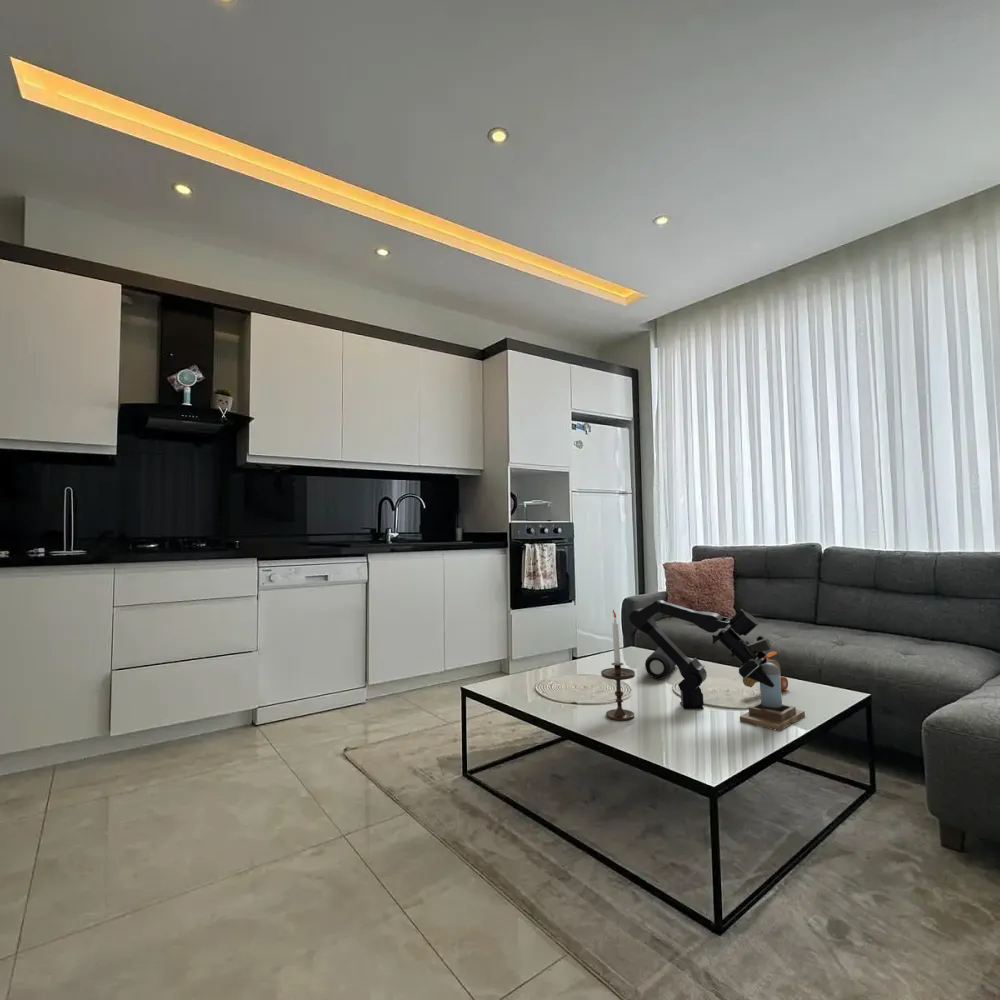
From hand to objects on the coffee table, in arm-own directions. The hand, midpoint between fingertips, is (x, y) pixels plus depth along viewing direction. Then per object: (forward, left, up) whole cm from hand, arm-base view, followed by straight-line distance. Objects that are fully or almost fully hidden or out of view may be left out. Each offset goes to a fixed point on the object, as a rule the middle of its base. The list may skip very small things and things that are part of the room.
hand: (775, 683), depth 174 cm
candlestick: (-48, +4, -11) cm, 50 cm away
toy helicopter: (+7, +29, -11) cm, 31 cm away
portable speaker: (-24, +57, -11) cm, 63 cm away
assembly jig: (-1, +1, -11) cm, 11 cm away
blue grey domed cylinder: (-1, +1, -7) cm, 7 cm away
